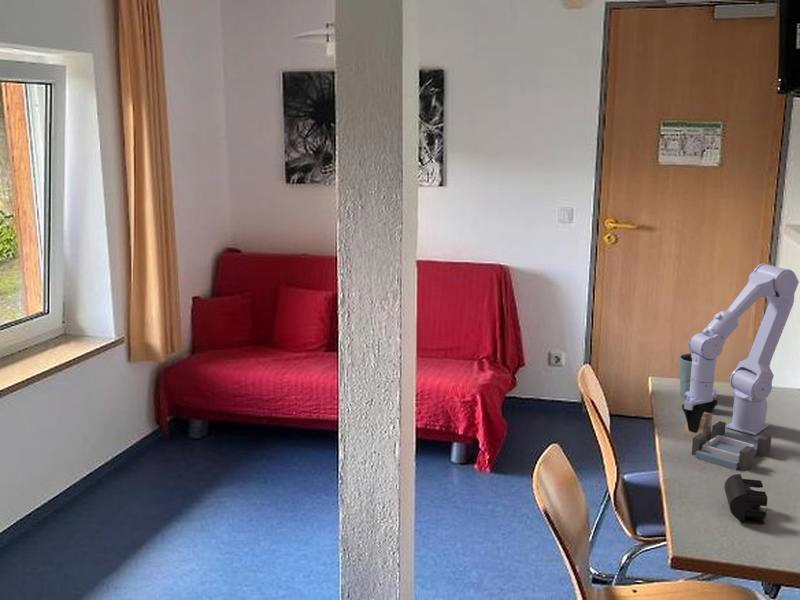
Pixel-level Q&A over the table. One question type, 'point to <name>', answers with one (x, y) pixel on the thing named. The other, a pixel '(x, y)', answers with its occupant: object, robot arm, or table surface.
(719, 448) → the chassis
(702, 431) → the block
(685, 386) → the grey-green cup
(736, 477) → the end cap
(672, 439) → the table surface
